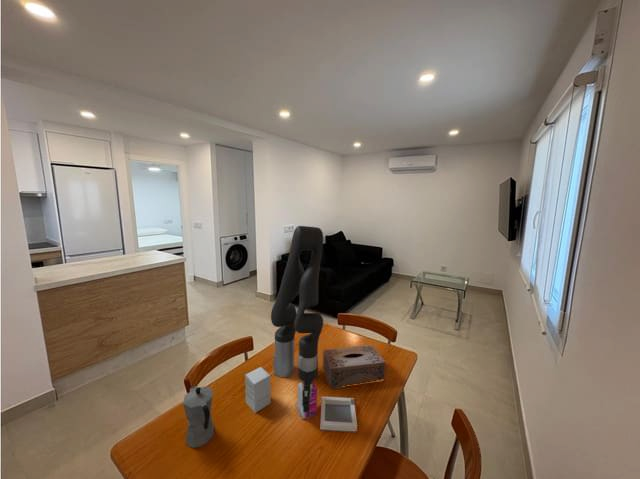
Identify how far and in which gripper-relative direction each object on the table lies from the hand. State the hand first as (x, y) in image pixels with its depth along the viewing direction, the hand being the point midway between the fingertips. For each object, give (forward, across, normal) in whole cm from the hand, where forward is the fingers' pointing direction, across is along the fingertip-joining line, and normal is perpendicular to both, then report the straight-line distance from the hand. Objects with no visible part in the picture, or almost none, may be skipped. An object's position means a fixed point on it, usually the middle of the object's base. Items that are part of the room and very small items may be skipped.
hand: (307, 403), depth 96 cm
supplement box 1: (+4, -3, -20) cm, 21 cm away
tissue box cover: (+4, -23, +20) cm, 31 cm away
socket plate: (+4, +1, +12) cm, 13 cm away
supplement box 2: (+4, 0, 0) cm, 4 cm away
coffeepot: (+4, +13, -35) cm, 38 cm away
